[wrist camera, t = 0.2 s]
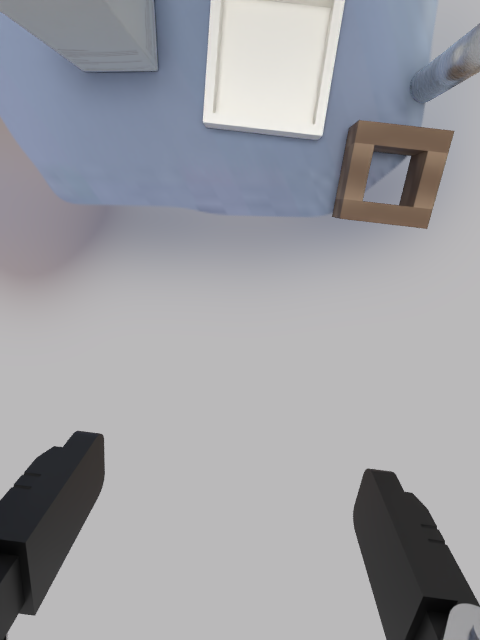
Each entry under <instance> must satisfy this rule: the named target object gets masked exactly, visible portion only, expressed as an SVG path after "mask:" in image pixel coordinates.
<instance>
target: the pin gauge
mask: <svg viewBox="0 0 480 640" xmlns="http://www.w3.org/2000/svg"><path fill="white" fill-rule="evenodd" d="M478 72H480V24H478V25H477V26H476V27H475V28H473V29H472V30H471V31H470V32H468V33H467V34H466V35H465V36H463V37H462V38H461V39H459V40H458V41H457V42H456V43H454V44H453V45H452V46H451V47H450V48H448V49H447V50H446V51H445V52H443V53H442V54H441V55H439V56H438V57H437V58H436V59H434V60H433V61H432V62H431V63H429V64H428V65H427V66H426V67H424V68H423V69H422V70H421V71H419V72H418V73H417V74H416V75H415V76H414V78H413V79H412V82H411V85H410V92H411V95H412V97H413V98H414V100H416V101H417V102H421V103H424V102H428V101H430V100H432V99H433V98H435V97H437V96H438V95H440V94H442V93H444V92H446V91H447V90H449V89H451V88H452V87H454V86H456V85H458V84H459V83H461V82H463V81H465V80H466V79H468V78H469V77H471V76H473V75H475V74H477V73H478Z"/></svg>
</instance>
